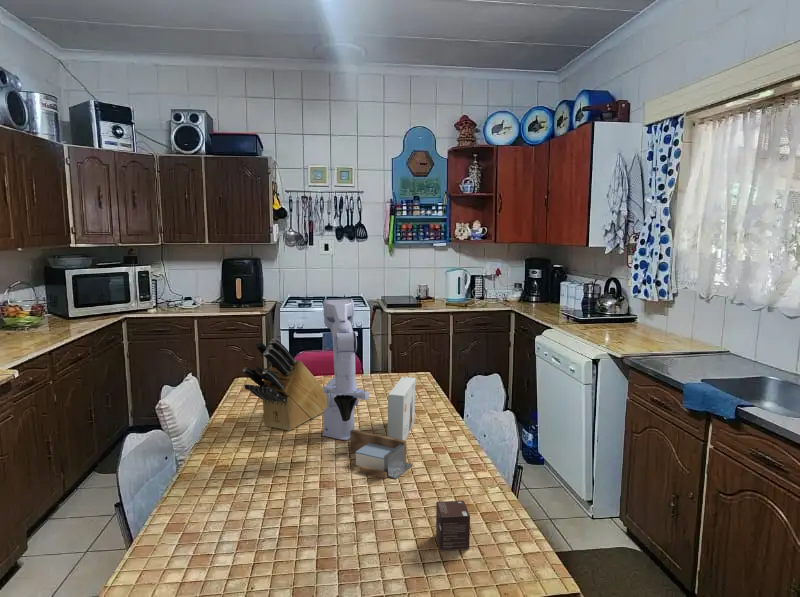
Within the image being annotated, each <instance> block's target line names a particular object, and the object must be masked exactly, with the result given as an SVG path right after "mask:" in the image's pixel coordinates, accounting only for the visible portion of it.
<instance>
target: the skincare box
mask: <svg viewBox="0 0 800 597" xmlns="http://www.w3.org/2000/svg"><path fill="white" fill-rule="evenodd" d="M415 406H416V377H410V376H409V377H408V376H401V377H400V379H399V380H398V381H397V383H396V384H395V385H394V386H393V388H392V389H391V390H390V392H389V393H388V398H387V428H386V431H387V432H386V437H391V438H395V439H400V440H405V441H407V440H406V439H407V438H408V435H409V434H410V432H411V430H412V428H413V426H414V424H415V409H416V408H415Z"/></svg>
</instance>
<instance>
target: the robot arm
mask: <svg viewBox="0 0 800 597" xmlns="http://www.w3.org/2000/svg"><path fill="white" fill-rule="evenodd" d="M354 304H355V303H354V300H353V299H352V298H350V299H348V298H347V299H343V298H342V299H324V300H323V302H322V305H323V308H322V310H323V324H324V327H326V328H328V329H330V332H331V336H332V349H333V368H334V369H333V371H334V372H333V373H334V377H332V378H331V379H329V381H328V382H327V383H326V385H324V386H322V387H323V393H326V395H327V407H326V409H325V410H324V412H323V413H322V414H323V415H322V416H323V417H322V418H323V419H322V420H323V422H322V423H323V433H321V435H322V436H324V437H327V438H328V437H329V438H333V439H336V440H342V441H348V440H350V431H351V430H355V409H356V407H357V405H359V399H361V400H364V401H366V400H369V399H370V392H369V391H367V390H364V389H360V388H358V383H357V381H356V353H357V349H358V341H357V340H358V339H357V334H356V331H354V330H353V322H354V317H355V316H354V315H355V305H354ZM357 431H359V430H358V429H357Z"/></svg>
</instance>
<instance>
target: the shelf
mask: <svg viewBox="0 0 800 597" xmlns="http://www.w3.org/2000/svg"><path fill="white" fill-rule="evenodd" d="M357 430H358V429H357ZM357 430H356V429H354V430H351V431H350V439H349V441H350V442H349V444H350V445H349V446H350V452H356V451H357V450H359V449H360V448H362V447H363V446H365V445H366V444H368V443H372V444H377V445H382V446H386V447H391V448H396V447H397V446H398V445H400V444H404V462H405V463H407V460H408V459H407V440H400V439H395V438H391V437H387V435H386V436H385V435H381V434H375V433H370V432H366V431H360V430H358V431H357ZM359 473H361V474H365V475H370V476H373V477H378V478H381V479H387V478H388V477H387V472H385V471H381V470H377V469H373V468H369V467H365V466H359Z"/></svg>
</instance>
